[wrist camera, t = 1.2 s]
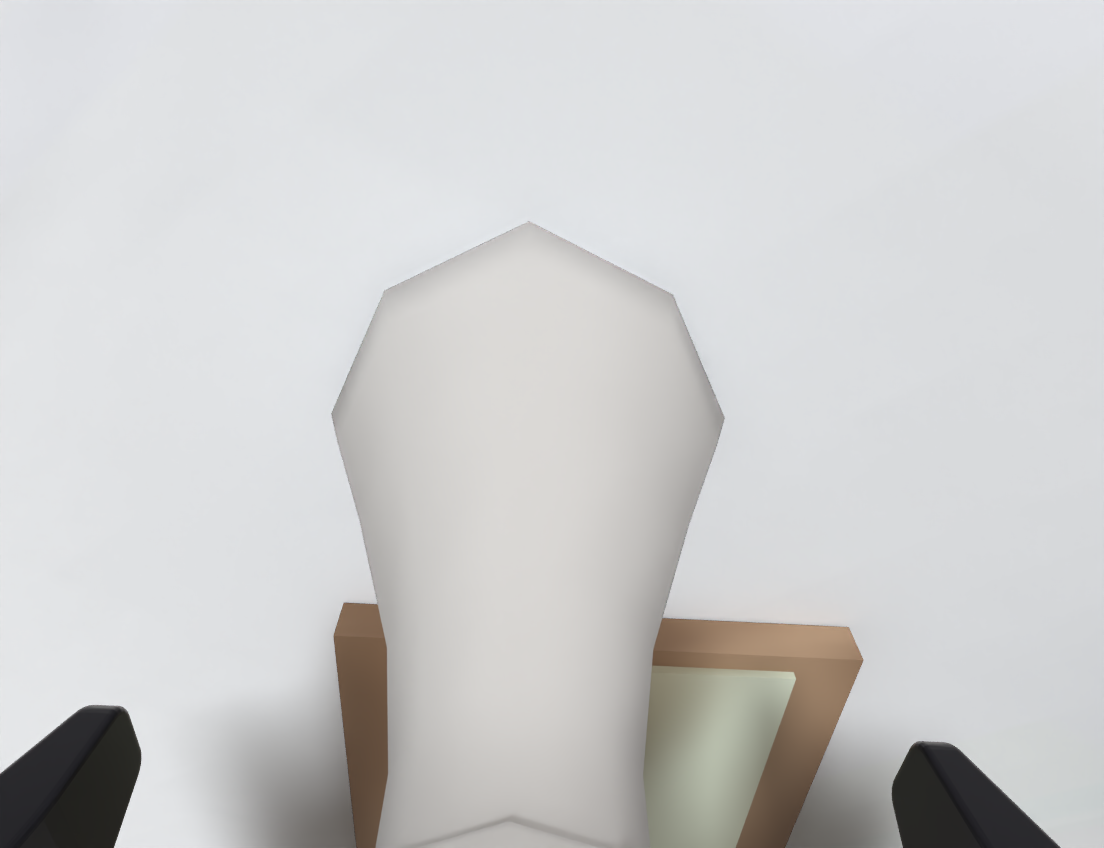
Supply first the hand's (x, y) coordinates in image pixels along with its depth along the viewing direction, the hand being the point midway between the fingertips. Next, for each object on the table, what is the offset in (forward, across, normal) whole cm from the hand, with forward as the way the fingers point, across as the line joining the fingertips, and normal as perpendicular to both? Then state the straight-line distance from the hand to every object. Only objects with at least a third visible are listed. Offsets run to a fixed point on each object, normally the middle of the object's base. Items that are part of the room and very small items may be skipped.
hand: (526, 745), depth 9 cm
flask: (+8, 0, 0) cm, 8 cm away
